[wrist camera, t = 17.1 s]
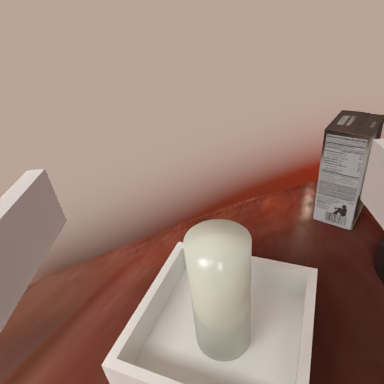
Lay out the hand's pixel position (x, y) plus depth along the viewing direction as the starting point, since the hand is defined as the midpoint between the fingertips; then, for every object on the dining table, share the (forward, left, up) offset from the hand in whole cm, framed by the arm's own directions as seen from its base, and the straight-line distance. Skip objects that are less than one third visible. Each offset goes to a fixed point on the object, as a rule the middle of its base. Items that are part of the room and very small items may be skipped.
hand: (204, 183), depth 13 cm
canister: (+3, -9, -26) cm, 27 cm away
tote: (+3, -10, -27) cm, 28 cm away
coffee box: (-9, -39, -27) cm, 48 cm away
